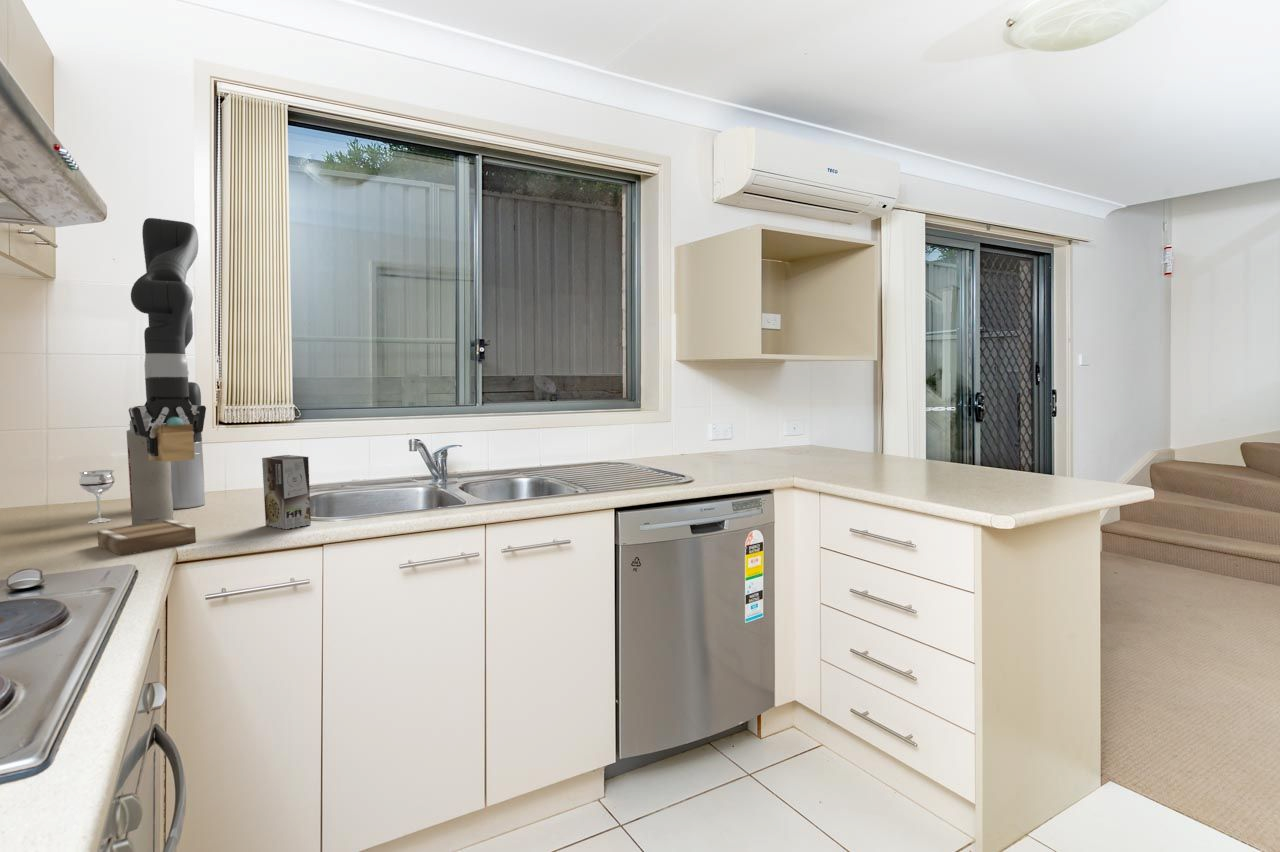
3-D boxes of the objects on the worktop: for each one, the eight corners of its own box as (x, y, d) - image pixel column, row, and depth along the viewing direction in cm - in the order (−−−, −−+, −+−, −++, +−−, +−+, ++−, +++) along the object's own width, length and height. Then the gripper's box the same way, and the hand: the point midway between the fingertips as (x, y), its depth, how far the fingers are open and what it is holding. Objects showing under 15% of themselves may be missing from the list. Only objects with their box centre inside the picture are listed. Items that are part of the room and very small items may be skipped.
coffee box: (312, 525, 158) (309, 456, 157) (285, 530, 153) (282, 459, 152) (291, 520, 163) (288, 454, 162) (264, 525, 158) (261, 456, 157)
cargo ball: (160, 422, 144) (168, 412, 143) (177, 424, 147) (184, 414, 146) (164, 433, 143) (172, 424, 142) (180, 435, 145) (188, 426, 144)
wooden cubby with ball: (148, 459, 145) (146, 424, 145) (178, 457, 150) (176, 423, 149) (164, 461, 141) (162, 425, 140) (194, 459, 145) (192, 424, 145)
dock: (98, 545, 139) (97, 530, 139) (170, 533, 149) (170, 519, 149) (121, 555, 131) (120, 538, 131) (195, 542, 142) (195, 526, 142)
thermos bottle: (126, 529, 154) (119, 406, 152) (138, 522, 162) (131, 405, 159) (168, 526, 157) (161, 405, 155) (177, 520, 164) (171, 404, 162)
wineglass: (124, 518, 166) (121, 469, 166) (102, 524, 160) (99, 473, 159) (97, 518, 167) (94, 469, 166) (73, 524, 160) (70, 473, 159)
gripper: (196, 376, 152) (200, 451, 153) (119, 375, 140) (124, 456, 141) (211, 375, 148) (215, 452, 149) (133, 375, 136) (138, 458, 137)
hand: (171, 454), depth 145 cm, fingers closed on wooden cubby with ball, 5 cm apart
